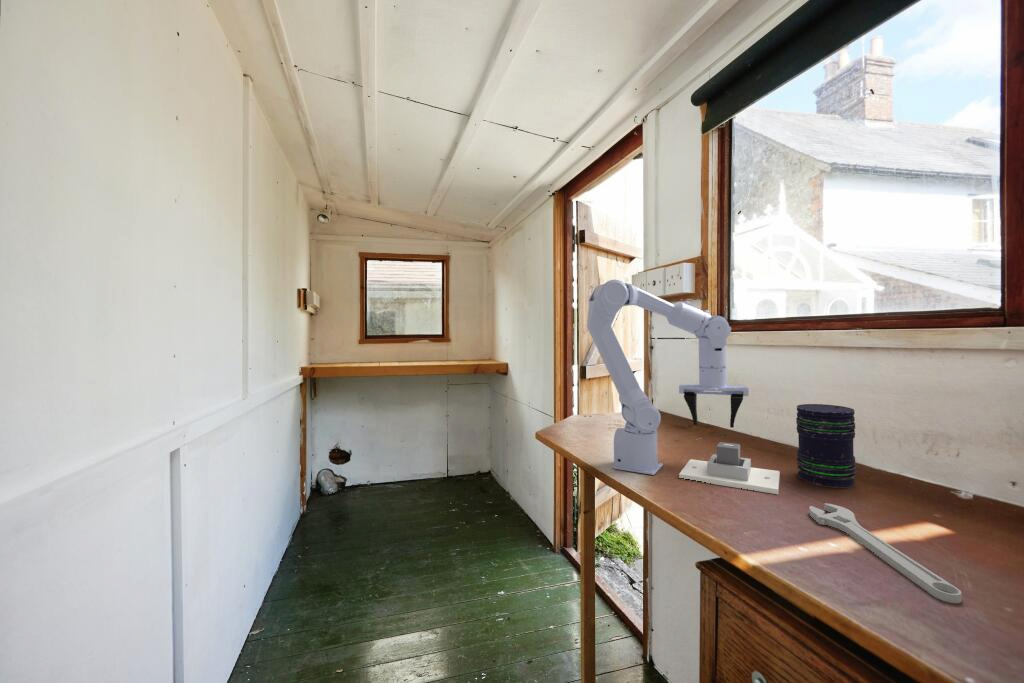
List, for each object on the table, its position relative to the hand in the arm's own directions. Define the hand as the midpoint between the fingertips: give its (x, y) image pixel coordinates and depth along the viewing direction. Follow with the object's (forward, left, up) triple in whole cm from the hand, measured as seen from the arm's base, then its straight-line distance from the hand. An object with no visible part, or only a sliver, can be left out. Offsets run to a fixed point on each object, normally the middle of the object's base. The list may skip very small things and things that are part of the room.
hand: (713, 425), depth 98 cm
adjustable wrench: (+24, -29, -10) cm, 39 cm away
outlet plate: (+4, -7, -9) cm, 12 cm away
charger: (+4, -7, -8) cm, 12 cm away
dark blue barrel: (+21, +1, -10) cm, 23 cm away
